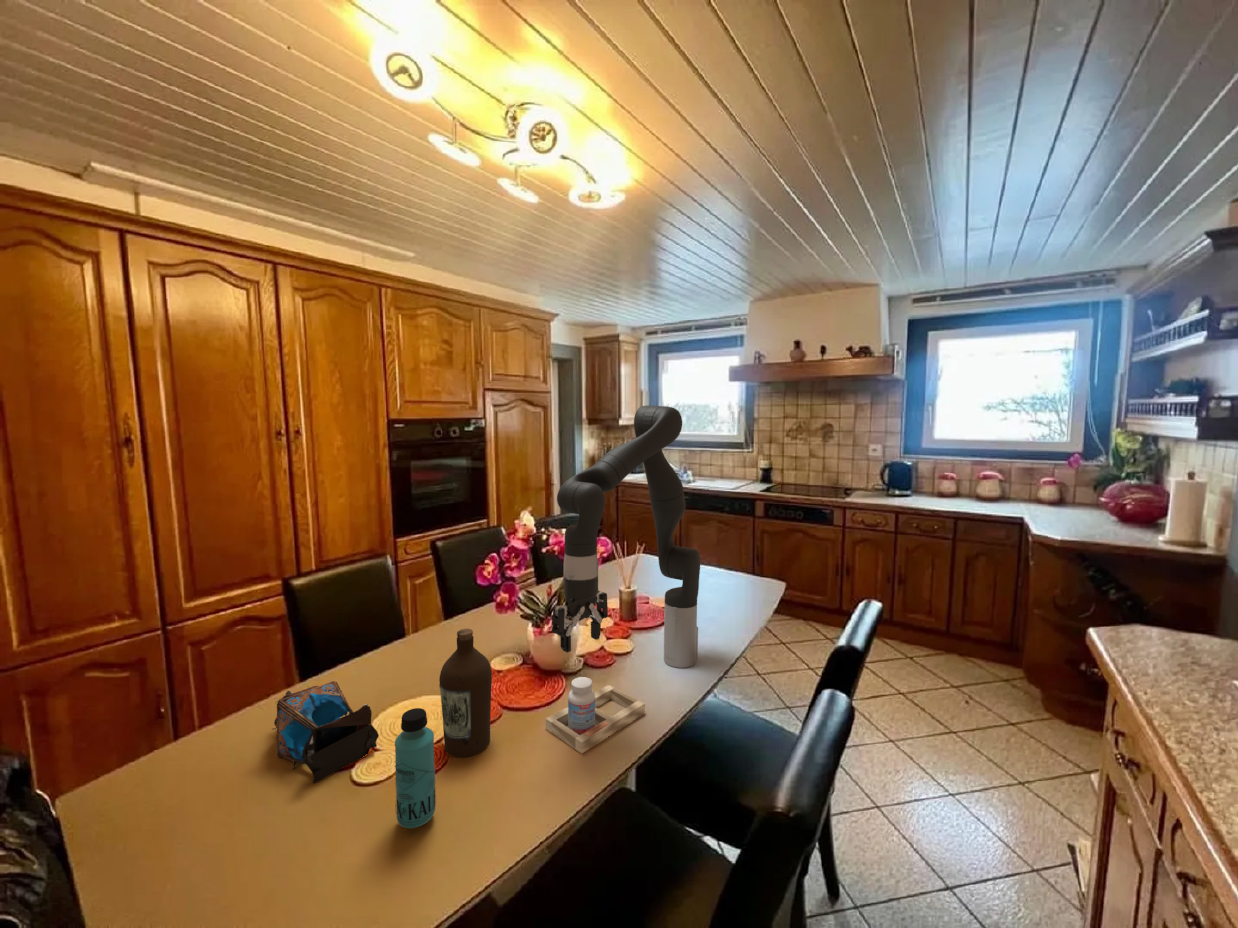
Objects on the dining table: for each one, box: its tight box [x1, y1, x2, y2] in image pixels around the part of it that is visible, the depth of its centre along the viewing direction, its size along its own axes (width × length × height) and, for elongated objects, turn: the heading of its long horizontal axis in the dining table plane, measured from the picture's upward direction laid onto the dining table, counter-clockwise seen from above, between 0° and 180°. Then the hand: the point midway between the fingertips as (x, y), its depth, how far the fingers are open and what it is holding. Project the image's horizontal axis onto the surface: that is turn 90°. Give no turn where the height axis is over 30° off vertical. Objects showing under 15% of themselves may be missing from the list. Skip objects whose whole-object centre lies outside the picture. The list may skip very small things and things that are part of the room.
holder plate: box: [545, 684, 646, 754], centre depth 118 cm, size 20×12×3 cm, turn 136°
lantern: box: [272, 680, 380, 784], centre depth 107 cm, size 16×16×25 cm
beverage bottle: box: [394, 707, 437, 829], centre depth 87 cm, size 6×7×20 cm
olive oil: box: [438, 628, 493, 758], centre depth 108 cm, size 11×11×25 cm
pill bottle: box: [567, 676, 596, 735], centre depth 114 cm, size 6×6×11 cm
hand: (581, 644), depth 113 cm, fingers open, 8 cm apart
